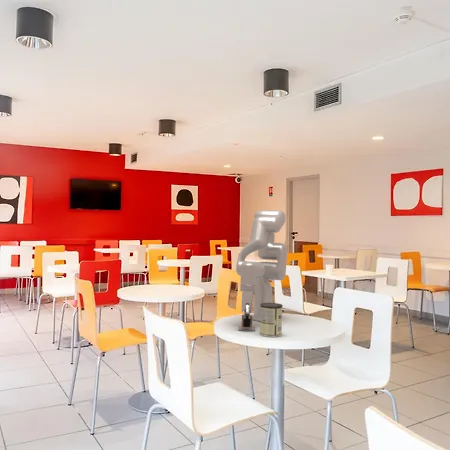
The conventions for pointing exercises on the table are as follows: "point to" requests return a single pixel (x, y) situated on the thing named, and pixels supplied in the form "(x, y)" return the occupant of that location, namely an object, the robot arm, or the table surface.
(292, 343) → the table surface
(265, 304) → the coffee can
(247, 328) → the slate coaster
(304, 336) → the table surface
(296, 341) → the table surface
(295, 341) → the table surface
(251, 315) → the walnut block
